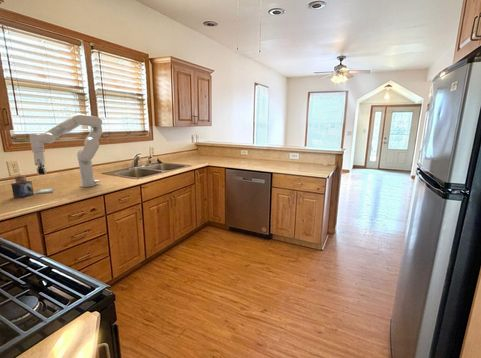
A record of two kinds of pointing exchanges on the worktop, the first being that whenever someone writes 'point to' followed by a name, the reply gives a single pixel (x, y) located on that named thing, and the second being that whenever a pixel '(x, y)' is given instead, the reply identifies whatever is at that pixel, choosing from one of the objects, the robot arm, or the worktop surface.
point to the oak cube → (44, 171)
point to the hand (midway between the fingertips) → (42, 173)
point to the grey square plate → (45, 191)
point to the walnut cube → (20, 179)
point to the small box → (22, 189)
